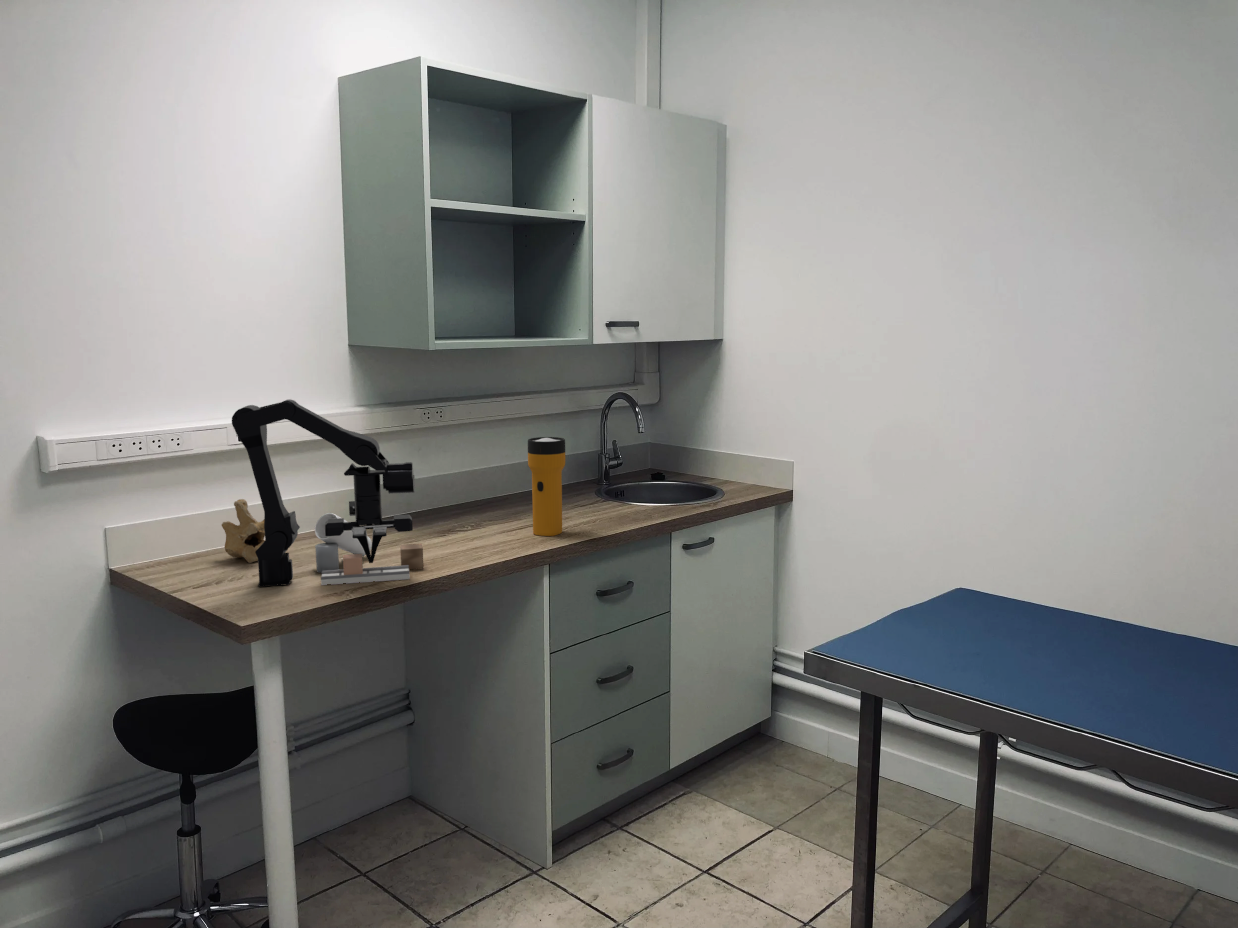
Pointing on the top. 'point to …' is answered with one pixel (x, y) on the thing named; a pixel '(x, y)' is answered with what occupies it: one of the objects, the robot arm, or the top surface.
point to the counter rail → (366, 575)
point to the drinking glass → (343, 540)
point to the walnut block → (412, 555)
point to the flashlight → (546, 483)
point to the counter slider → (352, 564)
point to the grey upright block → (327, 557)
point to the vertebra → (243, 534)
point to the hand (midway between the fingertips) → (371, 562)
